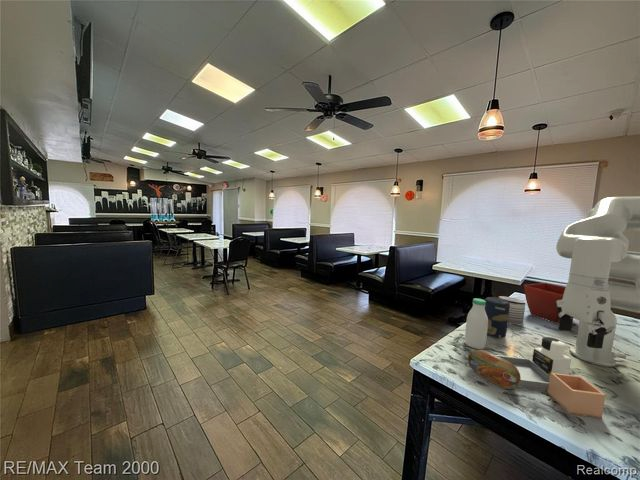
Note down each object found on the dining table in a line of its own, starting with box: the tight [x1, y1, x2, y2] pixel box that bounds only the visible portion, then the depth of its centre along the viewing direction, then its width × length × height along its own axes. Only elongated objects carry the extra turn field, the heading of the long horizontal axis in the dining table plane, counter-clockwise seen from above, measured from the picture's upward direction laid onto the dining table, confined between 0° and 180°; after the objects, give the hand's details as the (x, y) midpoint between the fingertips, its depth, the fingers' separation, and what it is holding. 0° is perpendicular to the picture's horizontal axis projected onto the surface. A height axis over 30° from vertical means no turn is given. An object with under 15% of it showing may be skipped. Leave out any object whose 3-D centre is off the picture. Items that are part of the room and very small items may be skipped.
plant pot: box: [523, 282, 574, 324], centre depth 136 cm, size 19×19×17 cm
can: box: [498, 295, 527, 325], centre depth 132 cm, size 11×11×12 cm
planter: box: [547, 373, 606, 419], centre depth 72 cm, size 8×8×7 cm
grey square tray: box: [494, 354, 550, 392], centre depth 86 cm, size 14×14×2 cm
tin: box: [467, 349, 521, 390], centre depth 83 cm, size 15×3×8 cm, turn 32°
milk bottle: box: [464, 297, 488, 350], centre depth 104 cm, size 8×8×20 cm
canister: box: [484, 296, 510, 339], centre depth 114 cm, size 10×10×18 cm
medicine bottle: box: [531, 336, 572, 376], centre depth 88 cm, size 7×7×12 cm
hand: (578, 338), depth 71 cm, fingers open, 9 cm apart
